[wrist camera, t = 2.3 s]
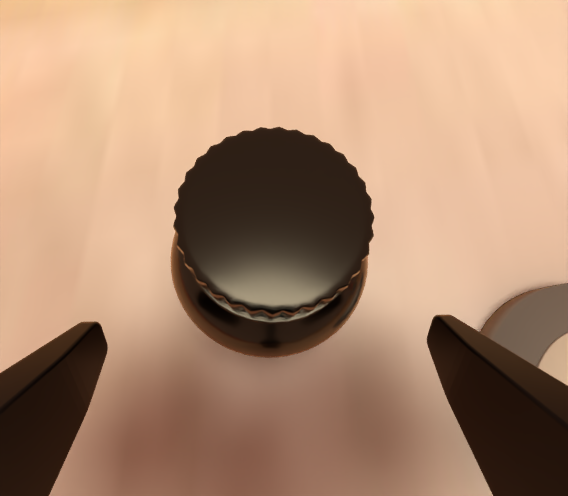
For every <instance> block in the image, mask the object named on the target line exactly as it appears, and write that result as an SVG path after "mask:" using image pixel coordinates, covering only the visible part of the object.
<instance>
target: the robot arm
mask: <svg viewBox="0 0 568 496" xmlns="http://www.w3.org/2000/svg"><path fill="white" fill-rule="evenodd" d="M427 344H428V348H429V351H430V353H431V356H432V359H433V362H434V364H435V367H436V370H437V373H438V376H439V378H440V381H441V384H442V387H443V390H444V392H445V395H446V397H447V399H448V402H449V404H450V406H451V408H452V410H453V412H454V415H455V417H456V419H457V421H458V423H459V425H460V427H461V429H462V431H463V433H464V435H465V438H466V440H467V442H468V444H469V446H470V448H471V450H472V452H473V454H474V456H475V459H476V461H477V463H478V465H479V467H480V469H481V471H482V473H483V475H484V477H485V479H486V482H487V484H488V486H489V488H490V490H491V492H492V494H493V496H568V385H566V384H564V383H563V382H561V381H559V380H558V379H556V378H554V377H553V376H551V375H549V374H548V373H546V372H544V371H543V370H541V369H539V368H538V367H536V366H534V365H533V364H531V363H530V362H528V361H526V360H525V359H523V358H521V357H520V356H518V355H516V354H515V353H513V352H511V351H510V350H508V349H506V348H505V347H503V346H501V345H500V344H498V343H496V342H495V341H493V340H491V339H490V338H488V337H486V336H485V335H483V334H482V333H480V332H478V331H477V330H475V329H473V328H472V327H470V326H468V325H467V324H465V323H463V322H462V321H460V320H458V319H457V318H455V317H453V316H452V315H436V316H435V317H434V318H433V320H432V323H431V326H430V329H429V333H428V336H427ZM107 349H108V347H107V342H106V339H105V336H104V333H103V330H102V327H101V325H100V323H98V322H81V323H79V324H77V325H76V326H74V327H72V328H71V329H69V330H68V331H66V332H65V333H63V334H61V335H60V336H58V337H57V338H55V339H54V340H52V341H50V342H49V343H47V344H46V345H44V346H42V347H41V348H39V349H38V350H36V351H35V352H33V353H31V354H30V355H28V356H27V357H25V358H23V359H22V360H20V361H19V362H17V363H16V364H14V365H12V366H11V367H9V368H8V369H6V370H4V371H3V372H1V373H0V496H49V494H50V492H51V490H52V488H53V485H54V483H55V481H56V479H57V477H58V474H59V472H60V470H61V468H62V466H63V463H64V461H65V459H66V457H67V455H68V452H69V450H70V448H71V446H72V444H73V441H74V439H75V437H76V435H77V433H78V430H79V428H80V426H81V424H82V422H83V419H84V417H85V415H86V412H87V410H88V407H89V405H90V402H91V399H92V396H93V393H94V390H95V387H96V384H97V381H98V378H99V375H100V372H101V369H102V366H103V363H104V360H105V357H106V354H107Z"/></svg>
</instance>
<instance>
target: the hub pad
mask: <svg viewBox="0 0 568 496" xmlns="http://www.w3.org/2000/svg"><path fill="white" fill-rule="evenodd" d="M480 333H482V334H483V335H485V336H486V337H488V338H490V339H491V340H493V341H495V342H496V343H498V344H500V345H501V346H503V347H505V348H506V349H508V350H510V351H511V352H513V353H515V354H516V355H518V356H520V357H521V358H523V359H525V360H526V361H528V362H530V363H531V364H533V365H534V366H536V367H538V368H539V369H541V370H543V371H544V372H546V373H548V374H549V375H551V376H553V377H554V378H556V379H558V380H559V381H561V382H563V383H564V384H566V385H568V283H566V284H560V285H555V286H550V287H545V288H540V289H536V290H532V291H528V292H526V293H523V294H521V295H518V296H516V297H515V298H513V299H511V300H510V301H508V302H506V303H505V304H504V305H503V306H501V307H500V308H499V309H498V310H497V311H495V313H494V314H493V315H492V316H491V317H490V318H489V320H488V321H487V322H486V323H485V325H484V327H483V328H482V330H481V332H480Z"/></svg>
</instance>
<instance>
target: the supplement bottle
mask: <svg viewBox="0 0 568 496" xmlns="http://www.w3.org/2000/svg"><path fill="white" fill-rule="evenodd" d="M178 195H179V199H178V201H177V202H176V204H175V206H174V210H175V214H176V219H175V222H174V225H173V227H174V230H175V235H174V239H173V243H172V249H171V272H172V279H173V283H174V288H175V290H176V293H177V296H178V298H179V301H180V303H181V305H182V307H183V308H184V310H185V312H186V313H187V315H188V316H189V317H190V319H191V320H192V321H193V323H194V324H195V325H196V326H197V327H198V328H199V329H200V330H201V331H202V332H203V333H205V334H206V335H207V336H208V337H210V338H211V339H212V340H214V341H215V342H217V343H219V344H220V345H222V346H224V347H226V348H228V349H230V350H233V351H235V352H238V353H242V354H245V355H249V356H255V357H265V358H272V357H284V356H289V355H294V354H298V353H301V352H303V351H306V350H309V349H311V348H313V347H315V346H317V345H319V344H321V343H322V342H324V341H325V340H327V339H328V338H330V337H331V336H332V335H333V334H335V333H336V332H337V331H338V330H339V329H340V328H341V327H342V326H343V325H344V324H345V322H346V321H347V320H348V319H349V317H350V316H351V315H352V313H353V312H354V310H355V308H356V306H357V304H358V302H359V300H360V298H361V295H362V293H363V289H364V286H365V282H366V277H367V268H368V255H369V243H370V241H371V240H372V238H373V236H374V234H373V230H372V223H373V221H374V215H373V213H372V211H371V198H370V196H369V195H368V194H367V192H366V185H365V182H364V181H363V180H362V179H361V178H360V177H359V176H358V172H357V169H356V167H354V166H353V165H351V164H350V163H348V161H347V159H346V157H345V156H344V154H342V153H340V152H337V151H335V149H334V148H333V147H332V146H331V145H330V144H329V143H326V142H321V141H320V140H319V139H318V138H316V137H315V136H314V135H305V134H303V133H302V132H300V131H298V130H286V129H283V128H281V127H276V128H273V129H267V128H262V127H260V128H258V129H256V130H254V131H242V132H241V133H239V134H238V135H236V136H230V137H226V138H225V139H224V140H223V141H222V142H221V143H220V144H217V145H213V146H211V147H210V148H209V150H208V151H207V153H206V154H205V155H203V156H200V157H199V158H197V160H196V162H195V165H194V167H193V168H192V169H190V170H189V171H188V172H186V176H185V182H184V183H183V184H182V185H181V186H180V188H179V189H178Z"/></svg>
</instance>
